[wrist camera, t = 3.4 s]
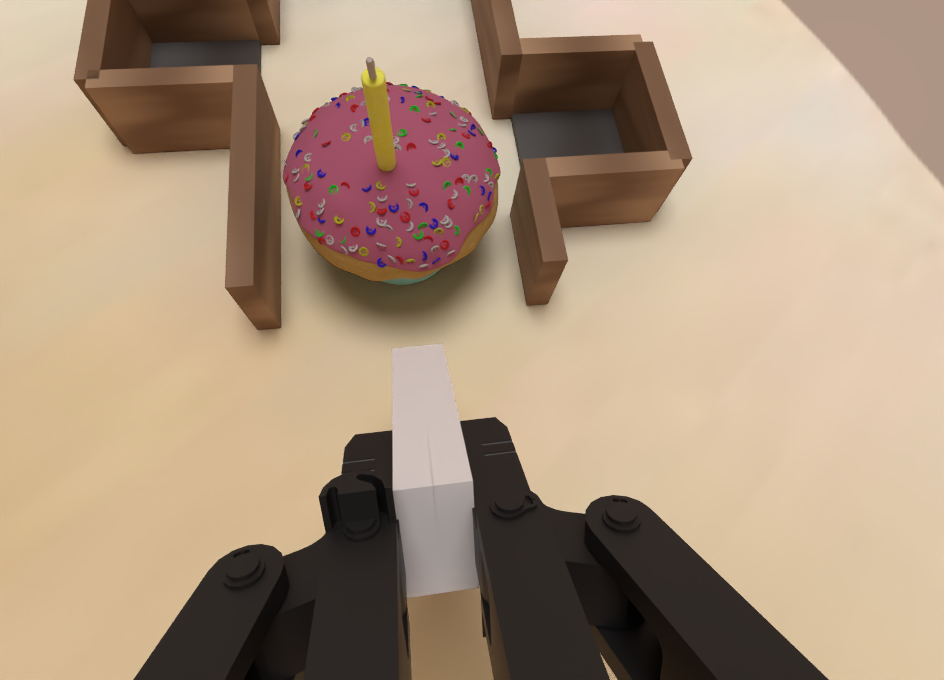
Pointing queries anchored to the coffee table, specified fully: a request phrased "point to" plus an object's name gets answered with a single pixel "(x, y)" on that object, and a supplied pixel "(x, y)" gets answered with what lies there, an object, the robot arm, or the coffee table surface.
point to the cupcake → (392, 181)
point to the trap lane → (510, 95)
